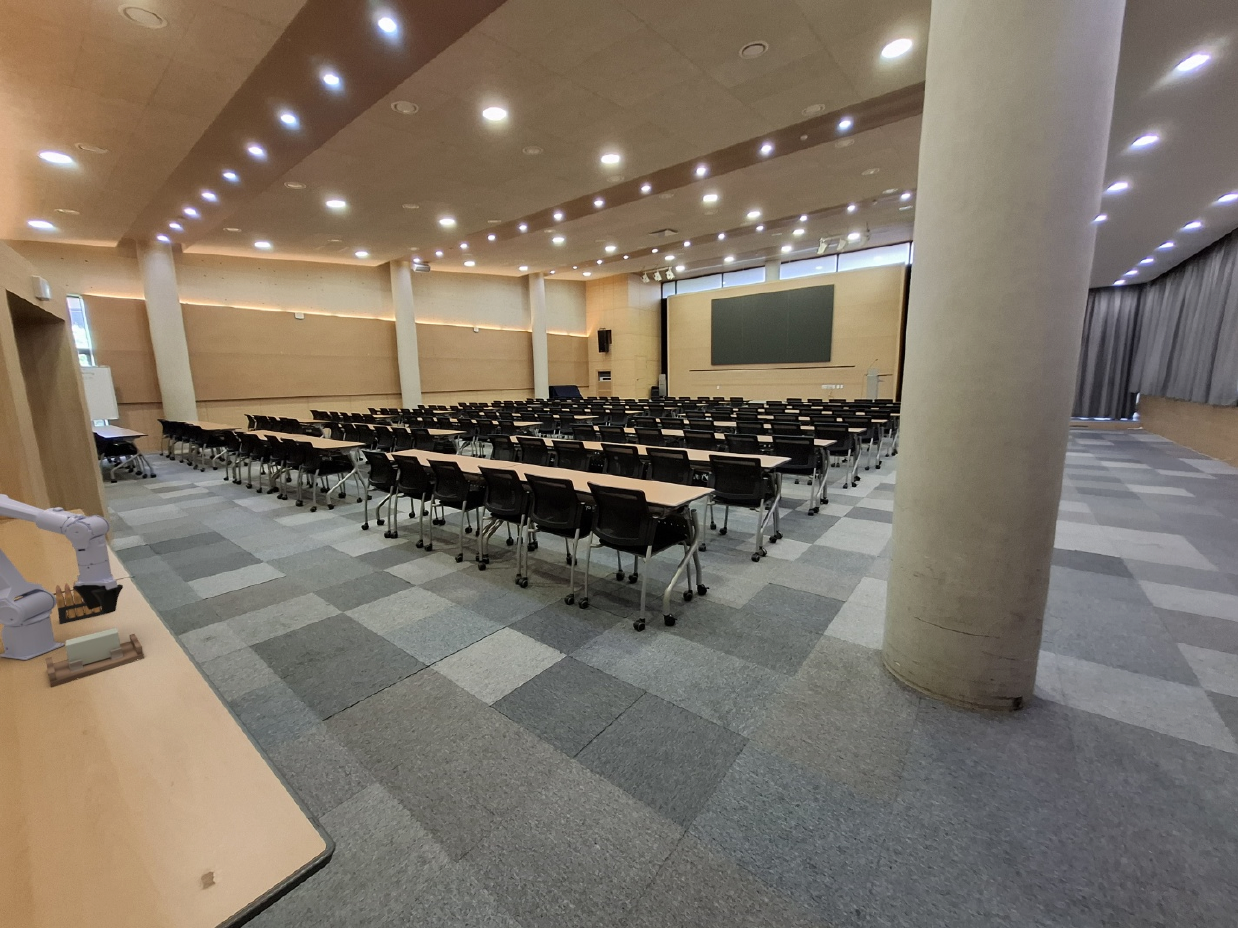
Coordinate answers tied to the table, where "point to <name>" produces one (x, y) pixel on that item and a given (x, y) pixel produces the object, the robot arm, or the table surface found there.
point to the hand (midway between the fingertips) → (102, 610)
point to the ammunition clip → (73, 606)
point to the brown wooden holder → (93, 663)
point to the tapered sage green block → (92, 646)
